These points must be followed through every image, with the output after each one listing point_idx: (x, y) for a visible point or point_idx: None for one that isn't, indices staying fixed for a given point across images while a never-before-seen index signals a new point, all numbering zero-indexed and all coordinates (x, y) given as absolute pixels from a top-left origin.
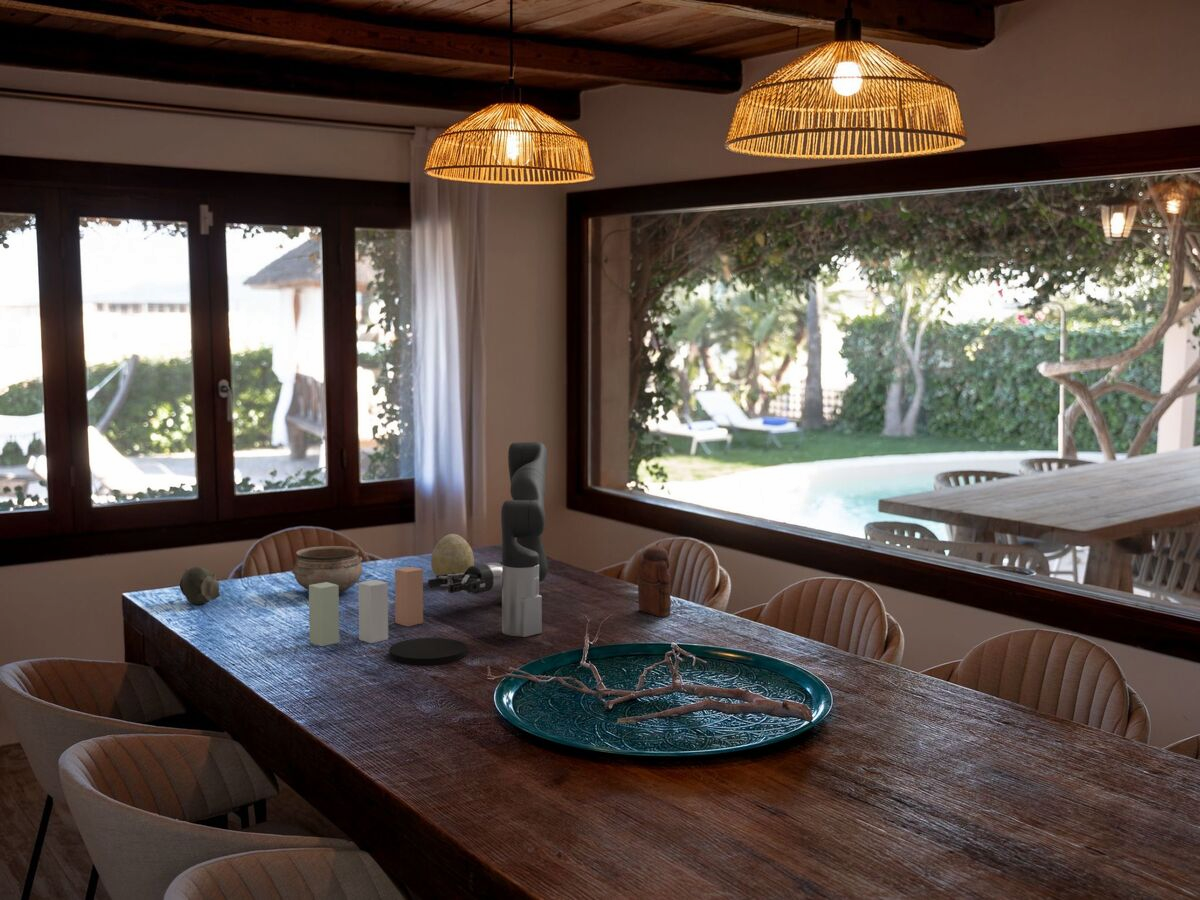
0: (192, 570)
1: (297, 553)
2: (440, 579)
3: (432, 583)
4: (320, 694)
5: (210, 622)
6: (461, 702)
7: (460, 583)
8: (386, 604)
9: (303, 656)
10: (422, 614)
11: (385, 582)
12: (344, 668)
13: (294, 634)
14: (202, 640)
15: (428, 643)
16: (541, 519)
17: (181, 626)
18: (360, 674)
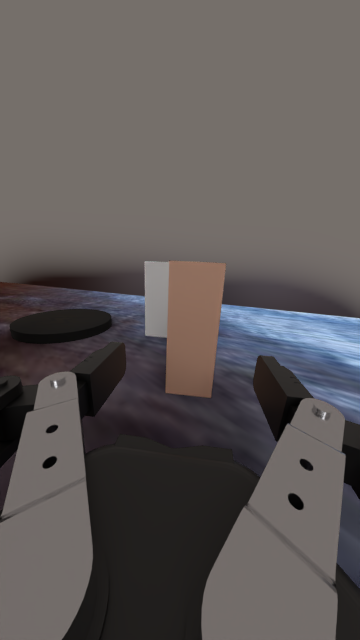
0: None
1: None
2: (292, 409)
3: (261, 379)
4: (108, 297)
5: (320, 320)
6: (7, 301)
7: (76, 374)
8: (145, 290)
9: None
10: (166, 374)
11: (149, 261)
12: (123, 307)
13: (236, 323)
14: (257, 309)
15: (71, 323)
16: None
17: (310, 314)
18: (104, 306)
